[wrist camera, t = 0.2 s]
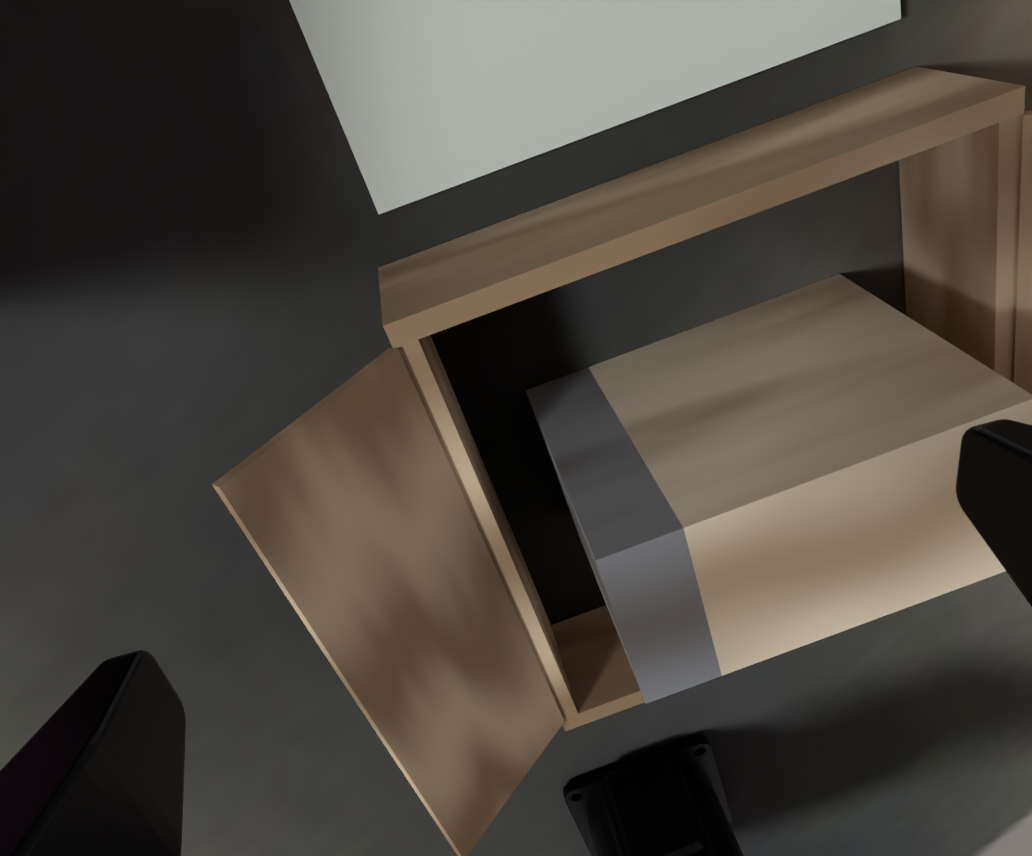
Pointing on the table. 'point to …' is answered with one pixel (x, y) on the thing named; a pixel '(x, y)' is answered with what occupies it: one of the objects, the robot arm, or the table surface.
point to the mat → (537, 71)
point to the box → (771, 478)
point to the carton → (462, 474)
